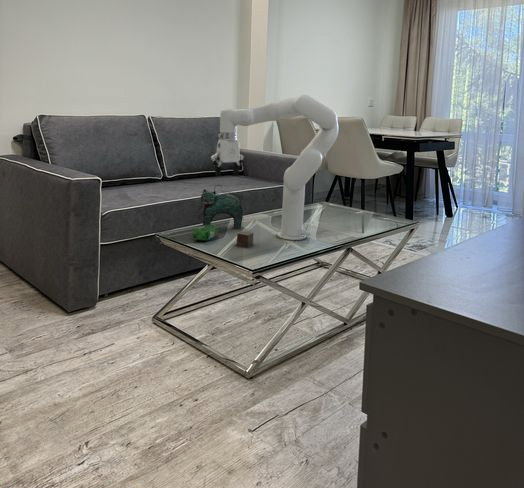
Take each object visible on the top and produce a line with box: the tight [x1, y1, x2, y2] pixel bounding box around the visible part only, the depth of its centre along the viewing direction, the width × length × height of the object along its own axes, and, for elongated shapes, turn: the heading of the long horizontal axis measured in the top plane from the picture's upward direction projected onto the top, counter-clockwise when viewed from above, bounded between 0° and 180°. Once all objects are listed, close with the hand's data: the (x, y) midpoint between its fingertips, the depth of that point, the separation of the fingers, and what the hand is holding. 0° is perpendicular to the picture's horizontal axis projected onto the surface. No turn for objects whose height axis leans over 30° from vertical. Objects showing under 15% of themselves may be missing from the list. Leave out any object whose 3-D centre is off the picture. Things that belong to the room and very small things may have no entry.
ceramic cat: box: [200, 184, 244, 229], centre depth 231 cm, size 20×6×20 cm, turn 99°
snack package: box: [192, 224, 220, 242], centre depth 209 cm, size 7×16×5 cm, turn 161°
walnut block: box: [236, 230, 254, 249], centre depth 203 cm, size 5×5×5 cm
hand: (227, 175), depth 221 cm, fingers open, 9 cm apart
